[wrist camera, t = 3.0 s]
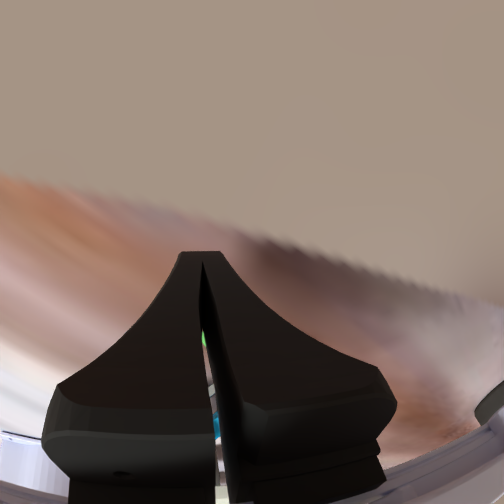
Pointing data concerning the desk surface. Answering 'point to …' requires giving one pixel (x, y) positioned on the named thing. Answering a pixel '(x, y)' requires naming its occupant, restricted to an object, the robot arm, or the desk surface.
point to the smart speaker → (490, 404)
